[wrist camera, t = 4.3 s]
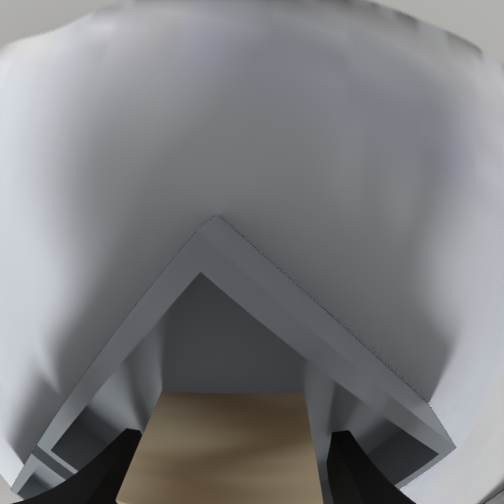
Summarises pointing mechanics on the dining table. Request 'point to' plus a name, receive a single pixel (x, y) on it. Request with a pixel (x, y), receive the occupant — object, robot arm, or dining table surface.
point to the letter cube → (225, 451)
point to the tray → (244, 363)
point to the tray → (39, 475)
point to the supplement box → (497, 499)
